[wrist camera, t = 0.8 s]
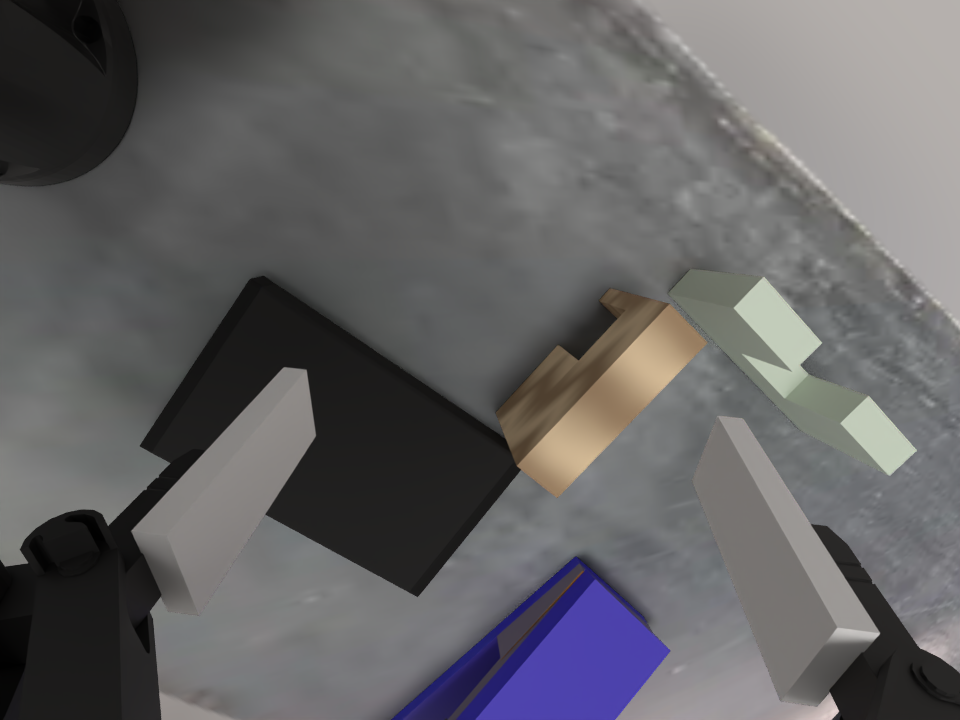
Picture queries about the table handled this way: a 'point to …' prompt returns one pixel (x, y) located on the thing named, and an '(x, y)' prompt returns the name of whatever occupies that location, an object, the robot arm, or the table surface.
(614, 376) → the tan wooden block
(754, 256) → the table surface
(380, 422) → the external hard drive
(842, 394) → the green u-shaped block
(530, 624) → the blue foot pedal
